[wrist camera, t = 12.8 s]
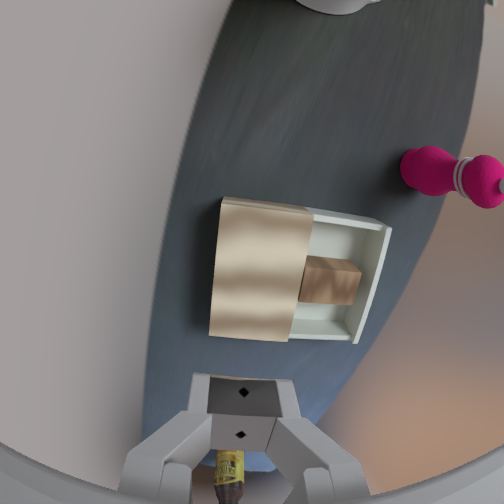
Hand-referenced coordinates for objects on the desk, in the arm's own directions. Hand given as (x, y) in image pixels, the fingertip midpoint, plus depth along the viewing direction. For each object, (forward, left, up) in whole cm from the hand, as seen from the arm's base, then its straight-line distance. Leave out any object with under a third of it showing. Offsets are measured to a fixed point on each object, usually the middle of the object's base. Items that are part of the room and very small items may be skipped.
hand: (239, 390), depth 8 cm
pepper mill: (-10, +26, -33) cm, 43 cm away
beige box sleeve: (+8, +3, -33) cm, 34 cm away
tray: (+8, +14, -33) cm, 37 cm away
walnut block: (+8, +9, -30) cm, 32 cm away
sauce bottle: (+54, +4, -33) cm, 64 cm away
